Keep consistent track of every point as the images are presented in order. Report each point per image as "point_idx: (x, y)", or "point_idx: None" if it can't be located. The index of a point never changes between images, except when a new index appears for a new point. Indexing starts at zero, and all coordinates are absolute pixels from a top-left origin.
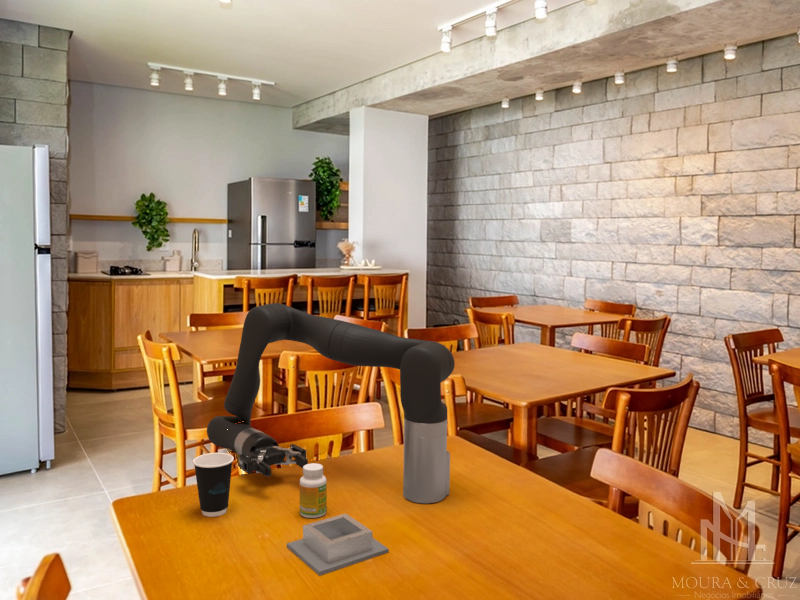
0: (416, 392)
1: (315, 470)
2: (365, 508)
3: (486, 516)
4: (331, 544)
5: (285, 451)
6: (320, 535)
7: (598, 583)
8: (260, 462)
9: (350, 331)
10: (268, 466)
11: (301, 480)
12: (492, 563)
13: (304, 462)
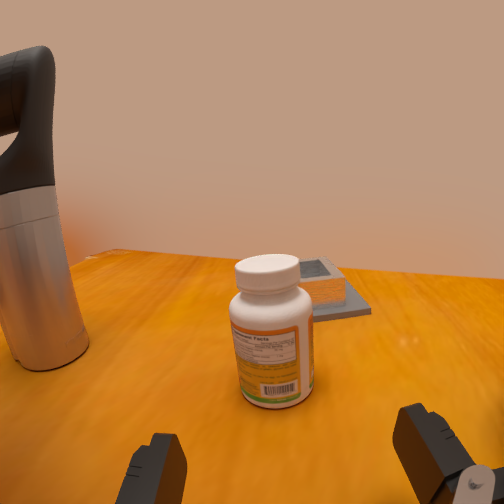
0: (50, 124)
1: (273, 255)
2: (162, 364)
3: (86, 302)
4: (321, 257)
5: None
6: (328, 264)
7: (154, 255)
8: (463, 472)
9: None
10: (414, 407)
11: (308, 296)
12: (178, 270)
13: (176, 440)
